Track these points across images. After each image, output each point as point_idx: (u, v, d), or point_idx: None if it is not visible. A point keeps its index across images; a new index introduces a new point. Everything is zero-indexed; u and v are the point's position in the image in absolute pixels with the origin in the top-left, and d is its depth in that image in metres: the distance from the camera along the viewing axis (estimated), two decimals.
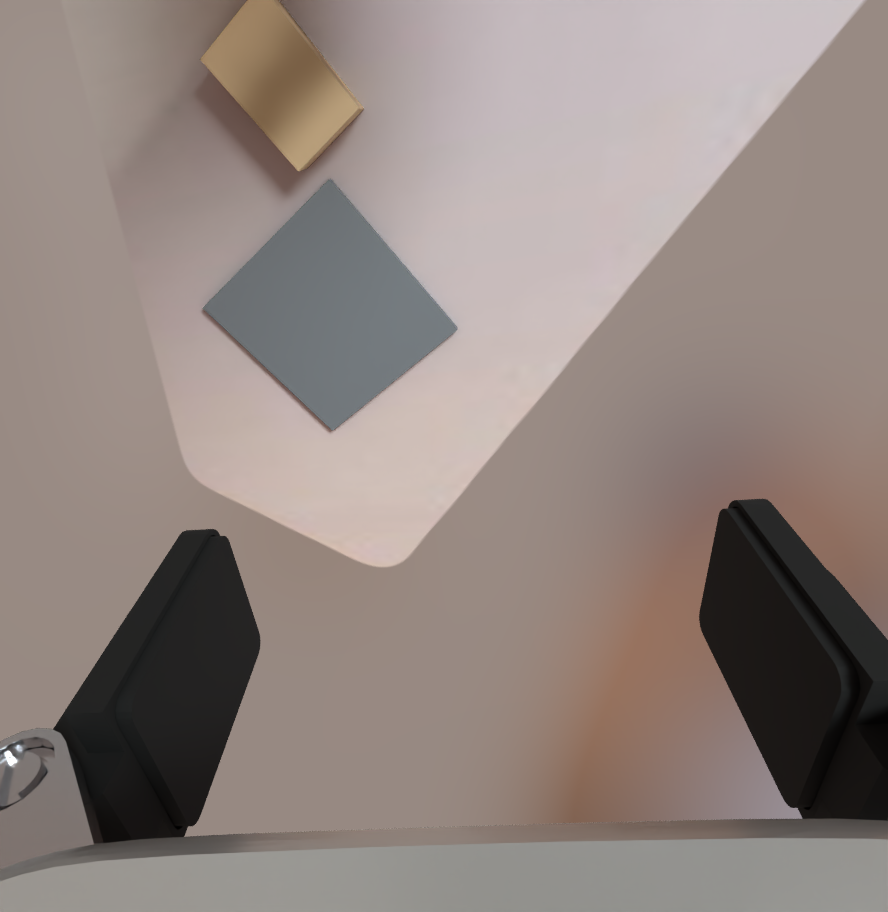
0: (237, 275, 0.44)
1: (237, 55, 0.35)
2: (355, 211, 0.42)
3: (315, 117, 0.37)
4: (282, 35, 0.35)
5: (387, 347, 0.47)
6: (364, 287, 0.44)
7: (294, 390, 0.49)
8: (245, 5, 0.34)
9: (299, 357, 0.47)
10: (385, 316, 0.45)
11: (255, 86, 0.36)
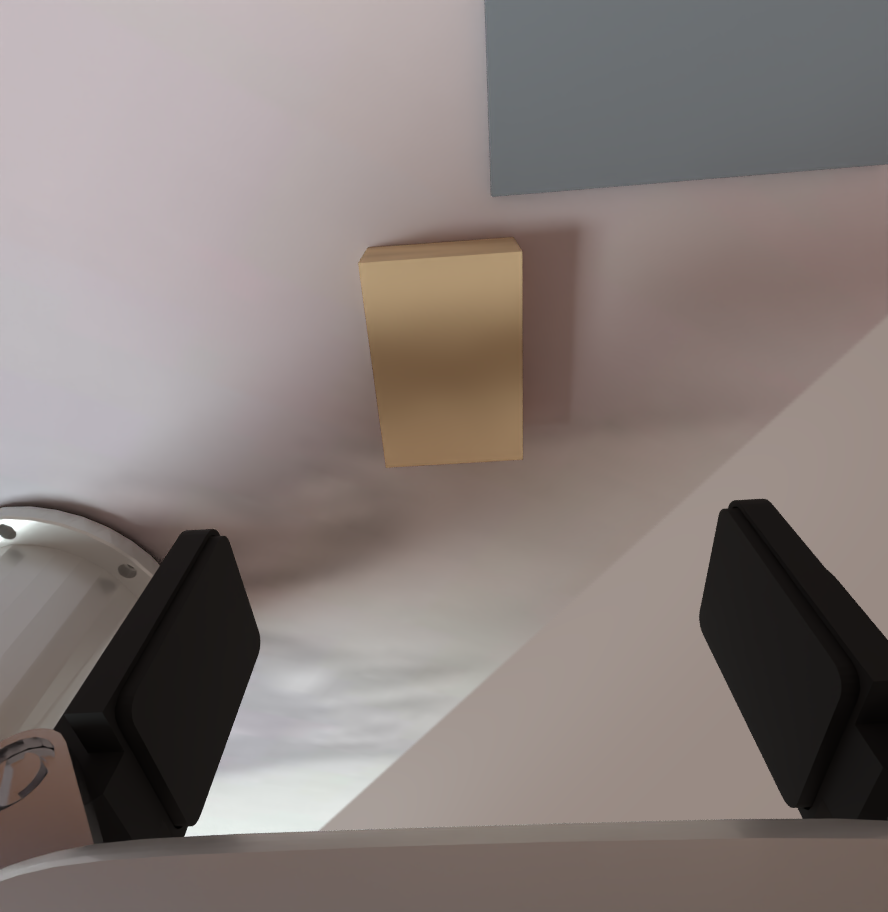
0: (779, 168, 0.20)
1: (474, 432, 0.23)
2: (490, 109, 0.19)
3: (433, 299, 0.20)
4: (400, 412, 0.22)
5: None
6: None
7: None
8: (419, 463, 0.23)
9: None
10: None
11: (483, 391, 0.22)
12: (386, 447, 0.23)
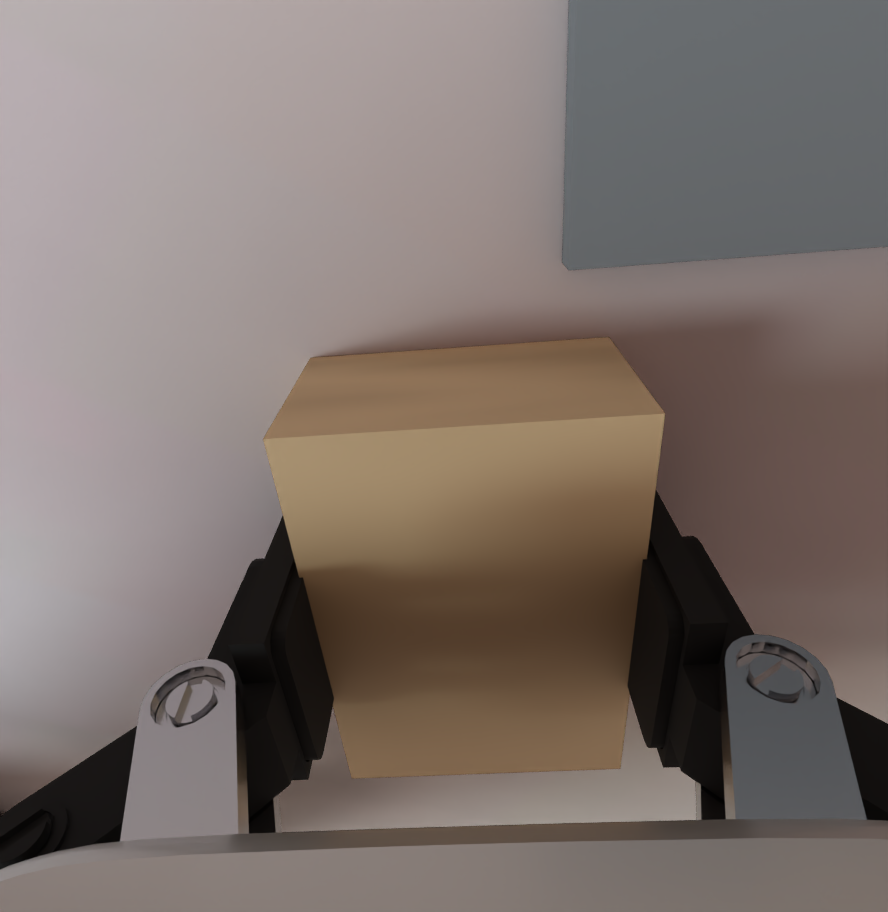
0: None
1: (526, 731, 0.11)
2: (577, 73, 0.08)
3: (445, 511, 0.09)
4: (376, 700, 0.11)
5: None
6: None
7: None
8: (417, 774, 0.12)
9: None
10: None
11: (549, 669, 0.10)
12: (351, 751, 0.12)
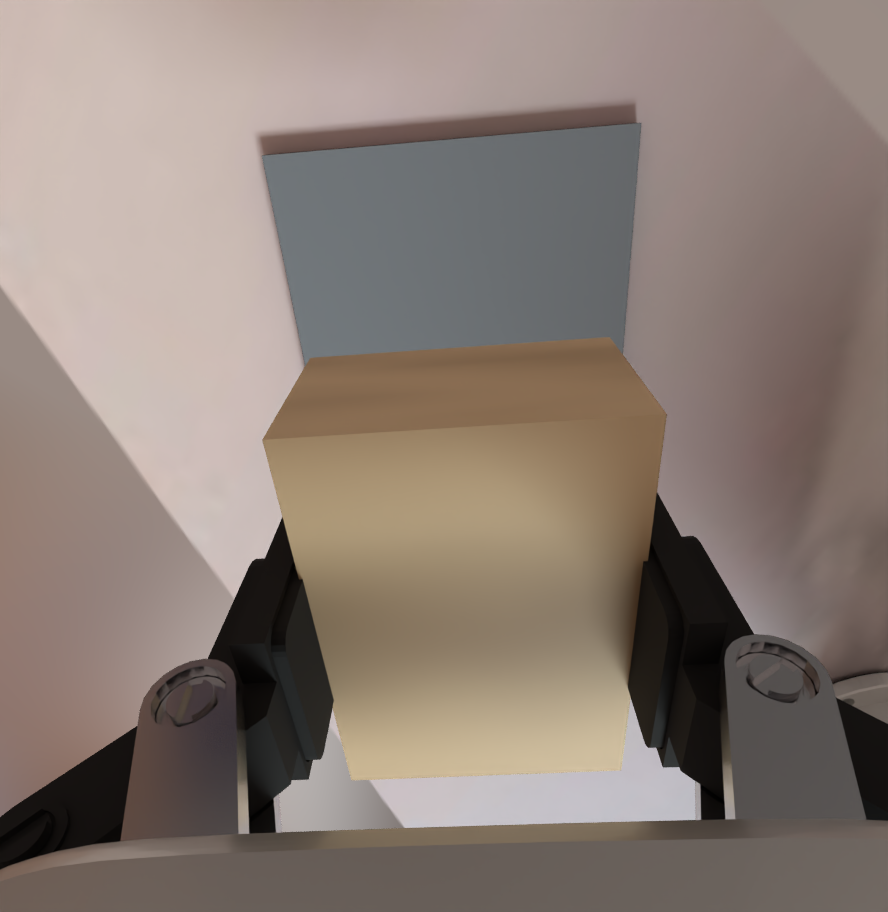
0: (628, 239, 0.23)
1: (527, 732, 0.11)
2: None
3: (445, 512, 0.09)
4: (375, 702, 0.11)
5: None
6: None
7: (387, 153, 0.22)
8: (417, 775, 0.12)
9: (439, 220, 0.23)
10: None
11: (550, 670, 0.10)
12: (350, 752, 0.12)
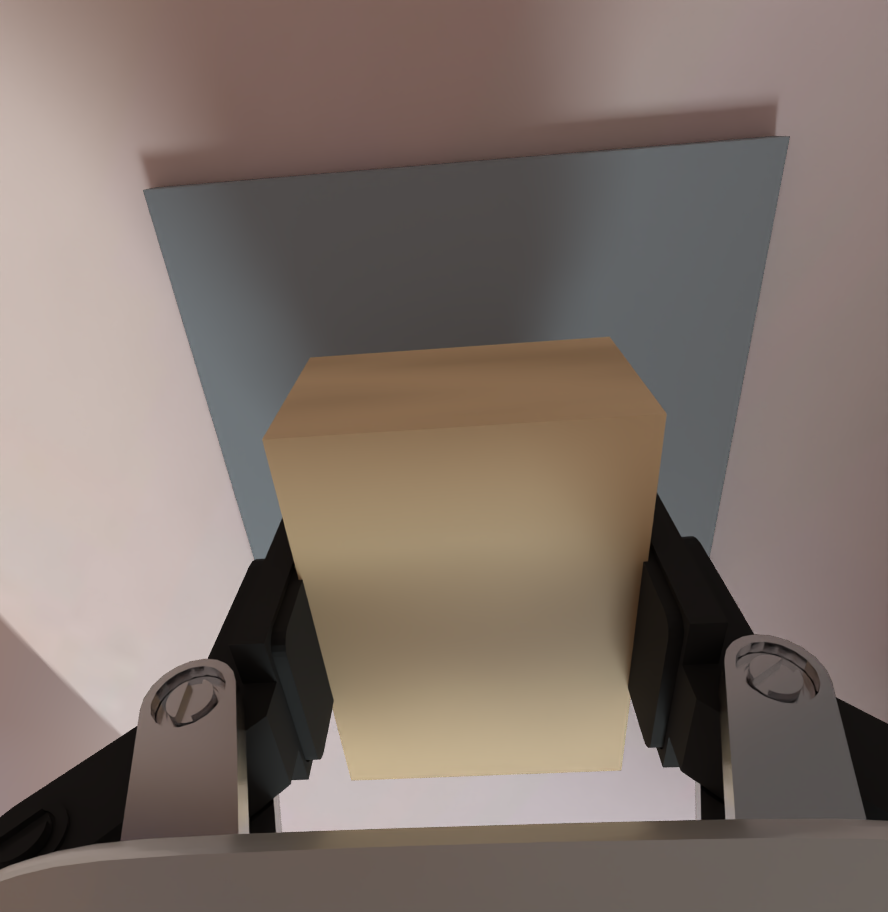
0: (748, 323, 0.14)
1: (527, 732, 0.11)
2: None
3: (445, 512, 0.09)
4: (375, 702, 0.11)
5: None
6: None
7: (353, 186, 0.13)
8: (417, 776, 0.12)
9: (441, 294, 0.14)
10: None
11: (549, 670, 0.10)
12: (350, 752, 0.12)
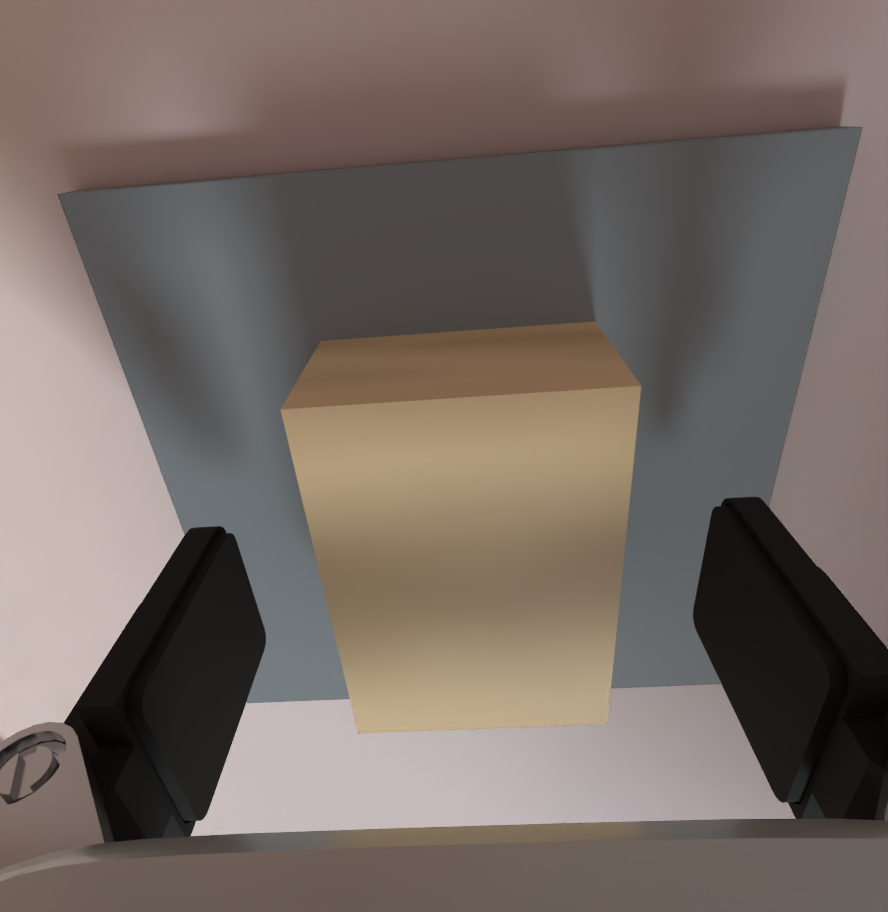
0: (799, 354, 0.12)
1: (520, 686, 0.12)
2: (630, 685, 0.17)
3: (444, 476, 0.10)
4: (380, 656, 0.12)
5: (294, 565, 0.15)
6: None
7: (319, 189, 0.10)
8: (419, 729, 0.13)
9: (429, 319, 0.12)
10: None
11: (540, 626, 0.11)
12: (357, 706, 0.13)
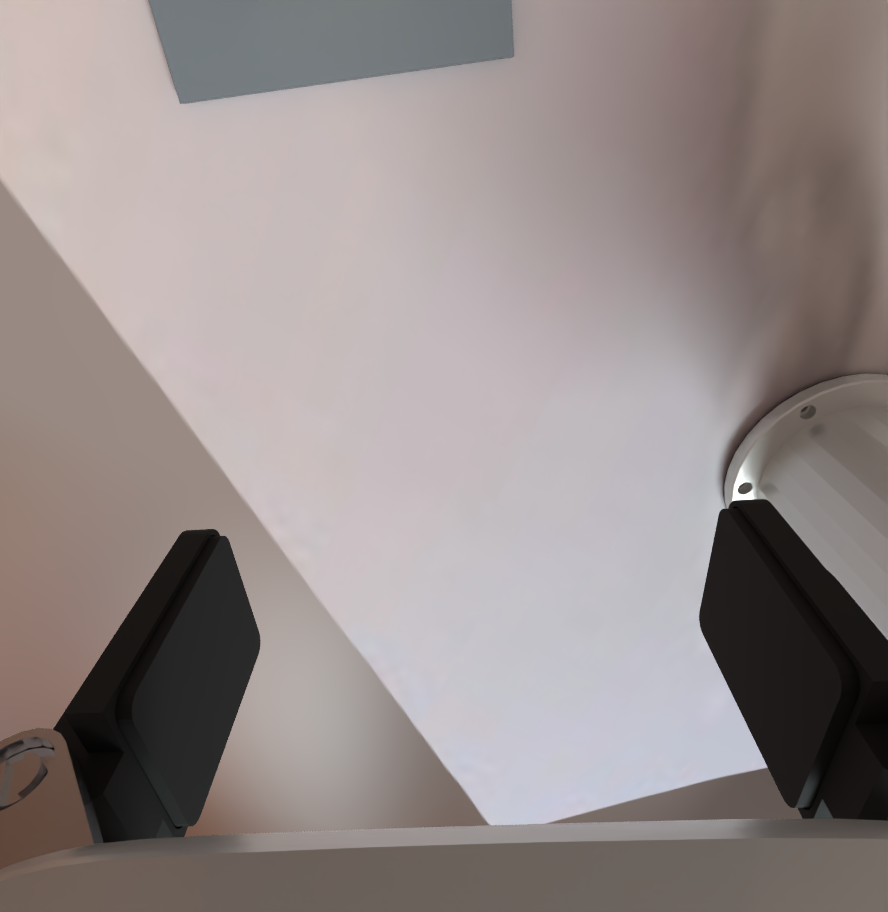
0: None
1: None
2: (449, 64, 0.24)
3: None
4: None
5: None
6: None
7: None
8: None
9: None
10: None
11: None
12: None
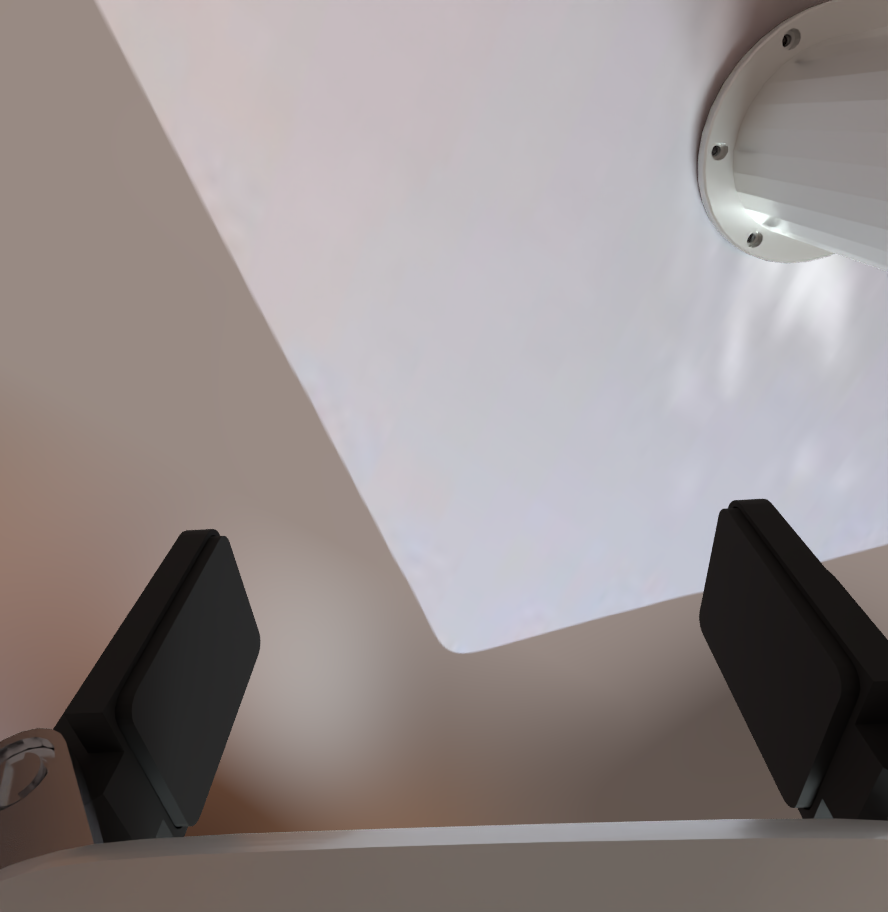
0: None
1: None
2: None
3: None
4: None
5: None
6: None
7: None
8: None
9: None
10: None
11: None
12: None
